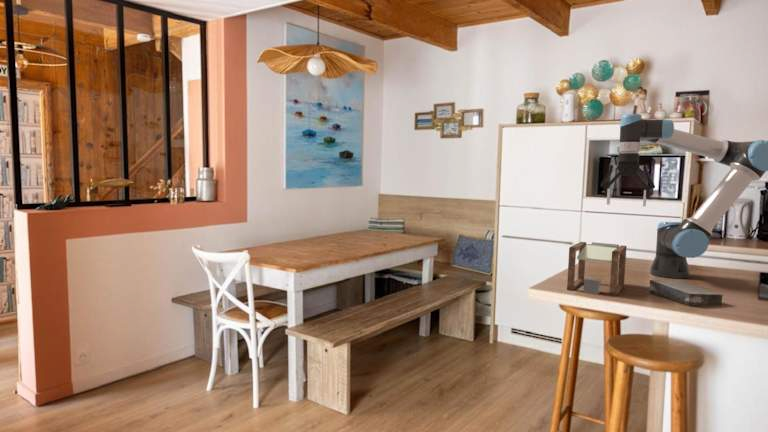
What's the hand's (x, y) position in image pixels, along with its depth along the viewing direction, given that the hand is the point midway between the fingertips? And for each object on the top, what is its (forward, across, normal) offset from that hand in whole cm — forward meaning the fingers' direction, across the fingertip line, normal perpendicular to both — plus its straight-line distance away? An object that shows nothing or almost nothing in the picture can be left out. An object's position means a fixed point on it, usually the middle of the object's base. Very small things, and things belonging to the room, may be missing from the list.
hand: (625, 205), depth 215 cm
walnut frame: (+30, -5, -25) cm, 40 cm away
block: (+31, +24, -22) cm, 45 cm away
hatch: (+21, -5, -20) cm, 30 cm away
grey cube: (+26, -6, -32) cm, 42 cm away
